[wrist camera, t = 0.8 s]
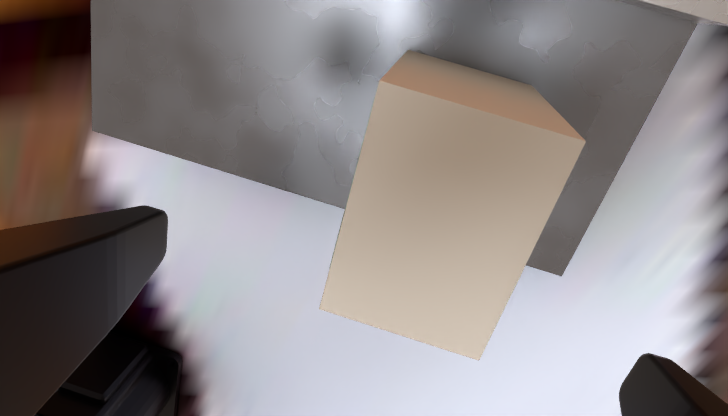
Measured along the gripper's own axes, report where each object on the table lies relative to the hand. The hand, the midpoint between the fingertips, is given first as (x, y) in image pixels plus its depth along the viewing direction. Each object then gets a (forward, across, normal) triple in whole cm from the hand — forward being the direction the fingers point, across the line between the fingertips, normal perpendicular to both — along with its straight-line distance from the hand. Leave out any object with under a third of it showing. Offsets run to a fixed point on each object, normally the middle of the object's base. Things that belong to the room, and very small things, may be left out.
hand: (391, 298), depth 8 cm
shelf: (+13, +4, -2) cm, 13 cm away
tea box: (+12, -1, 0) cm, 12 cm away
